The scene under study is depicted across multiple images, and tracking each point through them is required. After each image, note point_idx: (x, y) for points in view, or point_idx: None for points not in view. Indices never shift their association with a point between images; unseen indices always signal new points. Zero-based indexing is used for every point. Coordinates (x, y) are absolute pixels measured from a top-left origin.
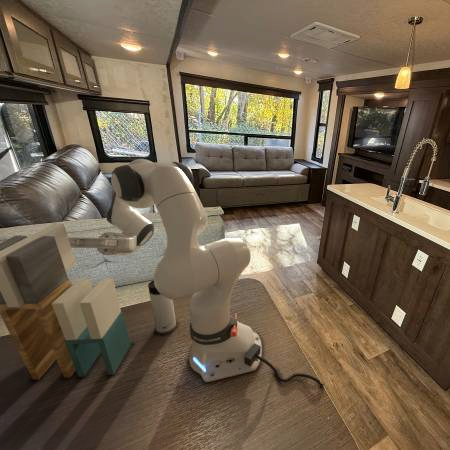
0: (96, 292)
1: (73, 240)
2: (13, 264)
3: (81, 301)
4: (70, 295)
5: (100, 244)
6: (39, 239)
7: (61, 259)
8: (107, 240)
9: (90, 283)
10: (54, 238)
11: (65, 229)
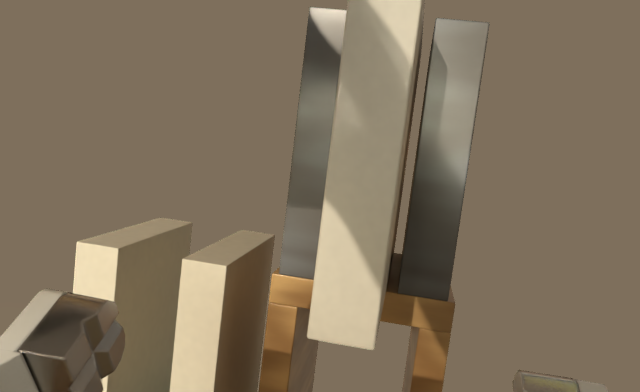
0: (144, 226)
1: (517, 380)
2: None
3: (187, 222)
4: (230, 237)
5: (124, 343)
6: None
7: (294, 150)
8: (18, 320)
9: (180, 288)
10: (309, 20)
11: (346, 12)
